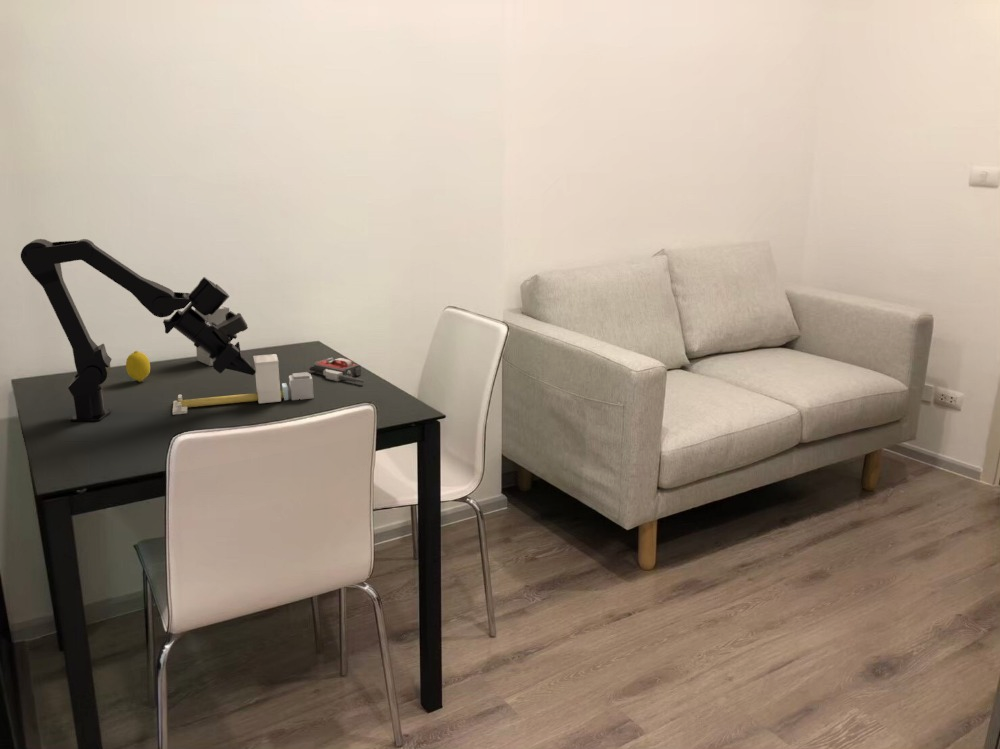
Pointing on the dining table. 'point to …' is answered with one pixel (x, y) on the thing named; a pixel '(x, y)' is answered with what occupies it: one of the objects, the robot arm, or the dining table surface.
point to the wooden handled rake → (212, 401)
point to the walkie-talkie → (338, 369)
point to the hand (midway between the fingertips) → (254, 373)
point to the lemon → (138, 366)
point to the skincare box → (217, 318)
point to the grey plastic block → (298, 387)
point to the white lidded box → (267, 378)
